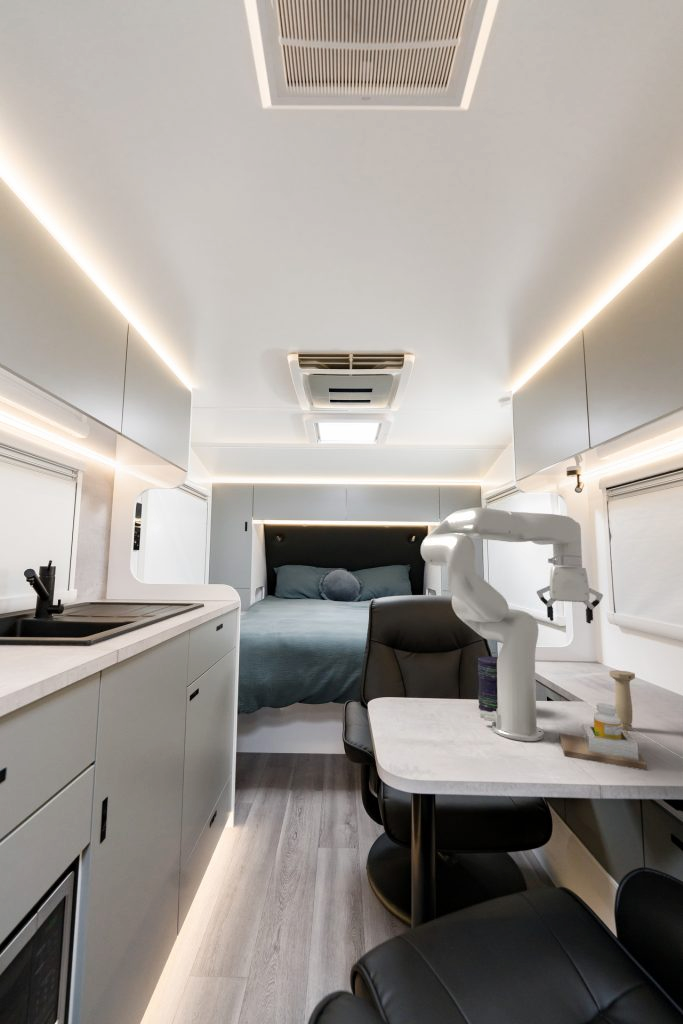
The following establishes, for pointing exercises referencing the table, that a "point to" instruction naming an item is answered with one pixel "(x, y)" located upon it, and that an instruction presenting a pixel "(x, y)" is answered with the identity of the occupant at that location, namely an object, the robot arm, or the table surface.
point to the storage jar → (487, 683)
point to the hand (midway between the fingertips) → (569, 621)
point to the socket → (610, 744)
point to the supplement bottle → (607, 722)
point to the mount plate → (578, 749)
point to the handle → (623, 697)
